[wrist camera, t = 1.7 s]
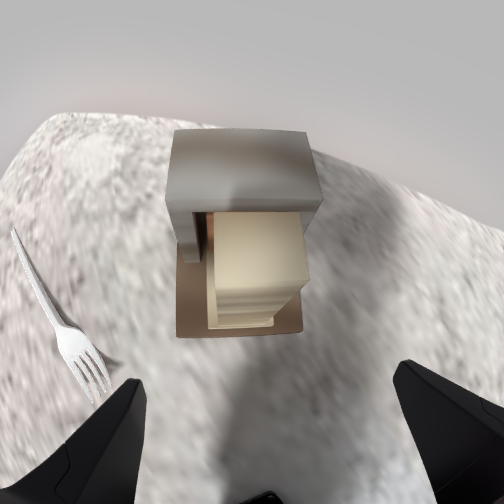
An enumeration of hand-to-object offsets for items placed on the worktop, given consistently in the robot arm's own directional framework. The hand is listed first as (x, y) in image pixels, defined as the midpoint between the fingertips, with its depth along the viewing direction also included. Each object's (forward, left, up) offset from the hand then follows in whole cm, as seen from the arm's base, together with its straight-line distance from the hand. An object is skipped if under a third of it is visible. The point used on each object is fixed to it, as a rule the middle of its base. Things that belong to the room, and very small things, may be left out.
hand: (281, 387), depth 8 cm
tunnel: (+4, +10, -11) cm, 16 cm away
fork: (-13, +12, -12) cm, 22 cm away
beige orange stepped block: (+3, +8, -10) cm, 13 cm away
